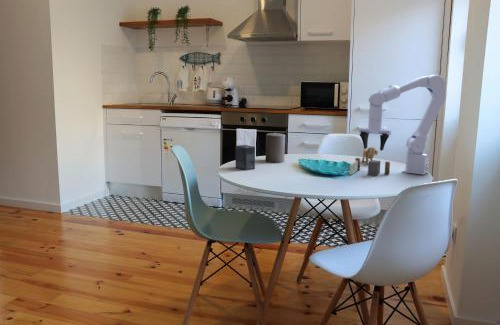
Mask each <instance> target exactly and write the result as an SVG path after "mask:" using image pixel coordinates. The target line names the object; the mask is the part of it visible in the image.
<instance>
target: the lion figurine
mask: <svg viewBox="0 0 500 325" xmlns="http://www.w3.org/2000/svg"><path fill="white" fill-rule="evenodd" d="M378 153H379V151H378V150H377V149H376V147H375V146H370V147H369V148H368V147H367V149H364V150H363V153H362V158H361V160H362V161H361V162H362V163H364V162H365V165H368V162H369V161H371V160H374V158H375V156H378Z"/></svg>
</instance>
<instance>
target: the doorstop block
mask: <svg viewBox="0 0 500 325" xmlns="http://www.w3.org/2000/svg"><path fill="white" fill-rule="evenodd" d="M367 166H368V167H367V176H372V177H378V176H379V175H380V173H381V160H376V159H375V160H374V159H372V160H371V161H370V160H369V161H368V164H367Z"/></svg>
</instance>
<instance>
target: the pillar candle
mask: <svg viewBox="0 0 500 325" xmlns="http://www.w3.org/2000/svg"><path fill="white" fill-rule="evenodd" d="M285 154H286V134H284V133H277V132H276V131H274V133H273V132H272V133H271V132H270V133H269V132H268V133H266V134H265V162H266V163H271V164H282V163H284V162H285Z"/></svg>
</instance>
